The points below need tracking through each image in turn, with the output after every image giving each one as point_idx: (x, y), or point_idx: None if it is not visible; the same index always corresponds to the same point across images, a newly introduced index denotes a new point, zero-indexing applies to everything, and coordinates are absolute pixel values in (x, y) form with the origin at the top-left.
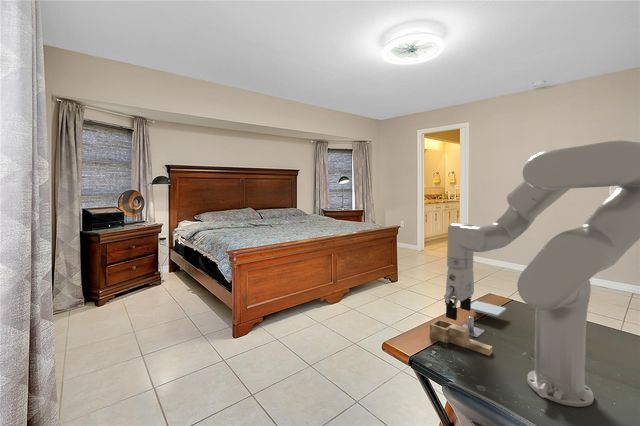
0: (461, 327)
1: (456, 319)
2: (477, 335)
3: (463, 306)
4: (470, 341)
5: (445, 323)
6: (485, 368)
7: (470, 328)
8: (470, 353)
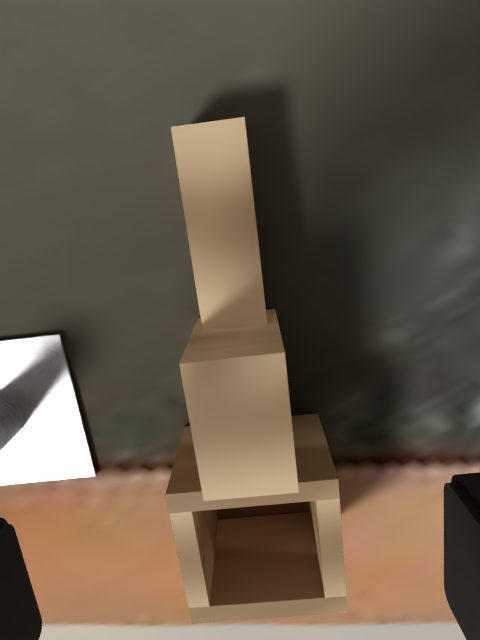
0: (210, 422)
1: (467, 474)
2: (31, 344)
3: (9, 632)
4: (240, 293)
5: (201, 552)
6: (447, 46)
7: (6, 419)
8: (320, 238)
